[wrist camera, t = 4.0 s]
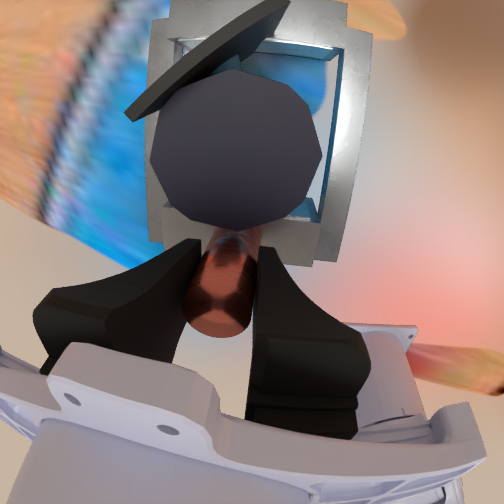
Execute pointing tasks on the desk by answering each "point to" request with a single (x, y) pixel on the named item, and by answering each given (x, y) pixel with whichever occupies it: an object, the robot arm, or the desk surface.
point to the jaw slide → (236, 264)
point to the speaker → (230, 130)
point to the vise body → (288, 43)
